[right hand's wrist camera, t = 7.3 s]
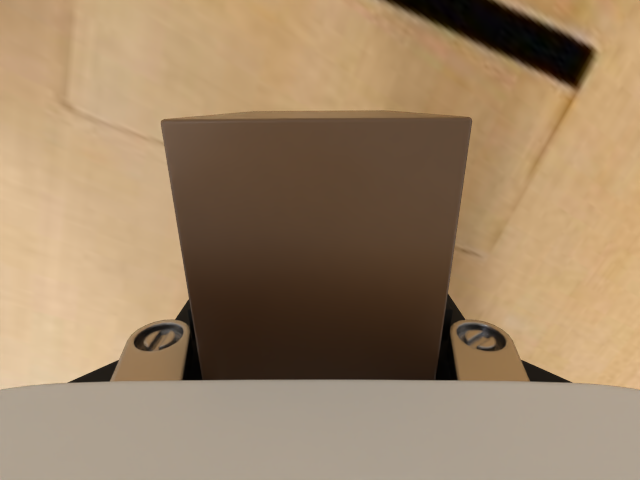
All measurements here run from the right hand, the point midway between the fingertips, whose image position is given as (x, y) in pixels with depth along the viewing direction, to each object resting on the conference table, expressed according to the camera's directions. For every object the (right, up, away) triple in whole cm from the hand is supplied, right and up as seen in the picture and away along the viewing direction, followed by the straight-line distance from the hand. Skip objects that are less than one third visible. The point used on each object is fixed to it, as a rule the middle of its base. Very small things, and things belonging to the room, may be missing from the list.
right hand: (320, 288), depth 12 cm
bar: (0, -22, +11) cm, 25 cm away
